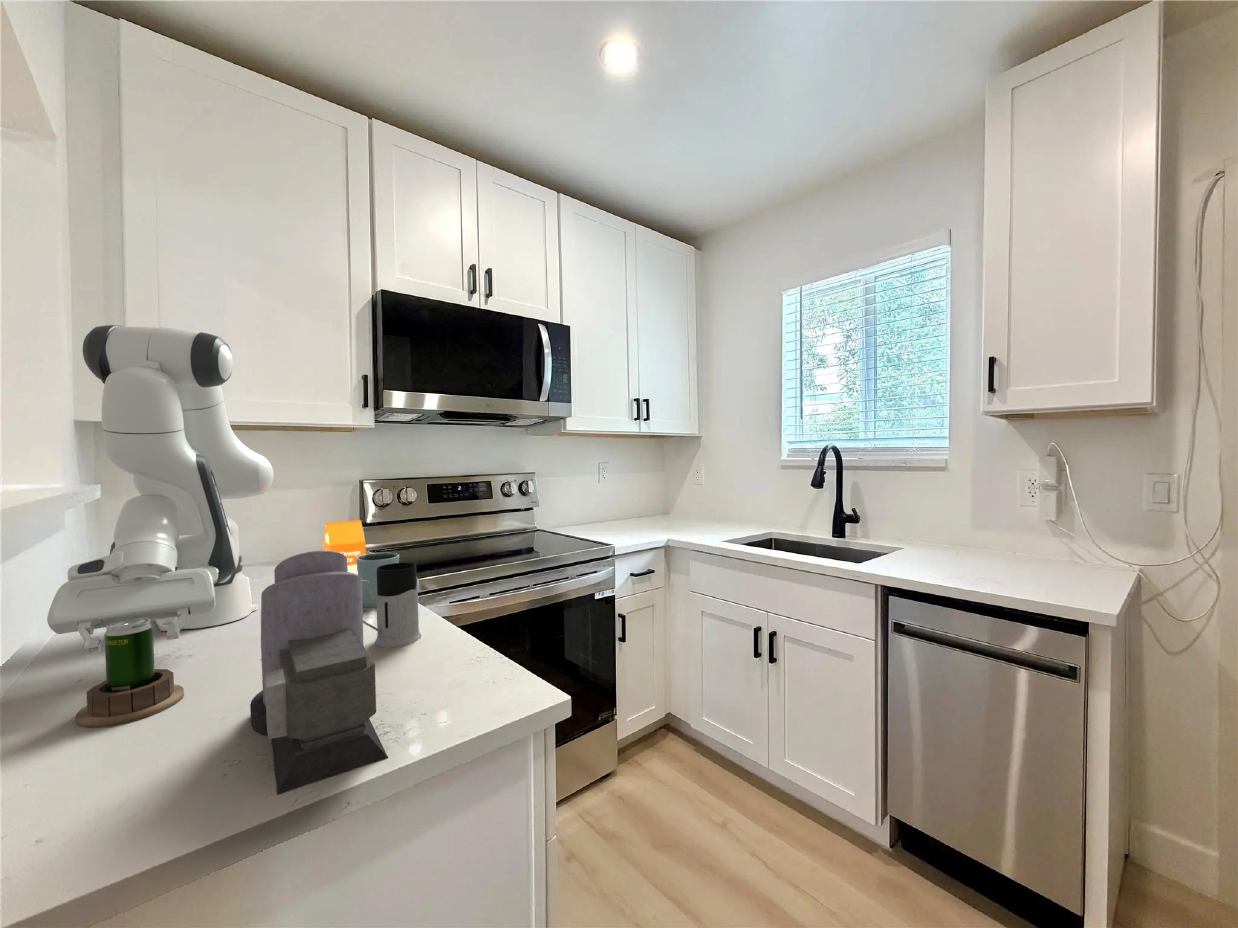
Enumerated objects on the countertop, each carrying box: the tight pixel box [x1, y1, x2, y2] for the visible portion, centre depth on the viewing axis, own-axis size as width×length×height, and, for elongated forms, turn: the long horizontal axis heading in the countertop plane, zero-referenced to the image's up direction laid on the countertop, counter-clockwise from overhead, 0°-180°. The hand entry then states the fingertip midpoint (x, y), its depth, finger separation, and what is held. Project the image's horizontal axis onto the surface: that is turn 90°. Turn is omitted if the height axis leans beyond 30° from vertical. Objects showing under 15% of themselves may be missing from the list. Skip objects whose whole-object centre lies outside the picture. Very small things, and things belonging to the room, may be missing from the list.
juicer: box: [249, 550, 389, 796], centre depth 74 cm, size 30×16×24 cm, turn 36°
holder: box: [362, 562, 422, 648], centre depth 105 cm, size 9×14×15 cm, turn 146°
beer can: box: [104, 618, 156, 693], centre depth 80 cm, size 5×5×12 cm
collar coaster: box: [75, 668, 185, 728], centre depth 80 cm, size 12×12×4 cm
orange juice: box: [323, 519, 367, 575], centre depth 142 cm, size 8×9×20 cm
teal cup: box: [356, 551, 400, 608], centre depth 134 cm, size 10×10×12 cm
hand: (133, 643), depth 82 cm, fingers open, 8 cm apart
